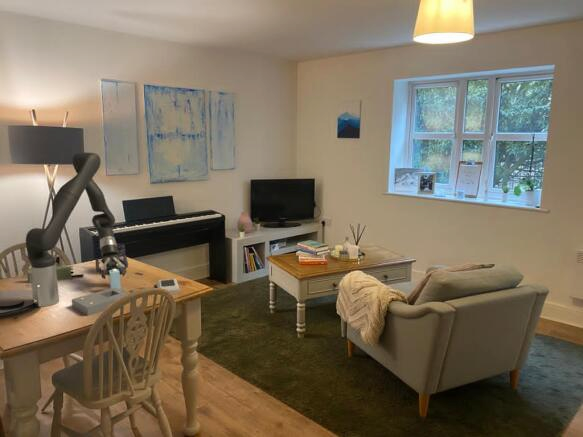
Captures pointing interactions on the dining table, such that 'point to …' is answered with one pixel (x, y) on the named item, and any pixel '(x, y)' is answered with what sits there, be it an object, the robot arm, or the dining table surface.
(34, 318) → the dining table surface
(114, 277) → the pale blue tall block
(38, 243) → the robot arm
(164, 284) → the keypad
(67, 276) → the handheld radio
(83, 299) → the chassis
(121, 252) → the storage jar
